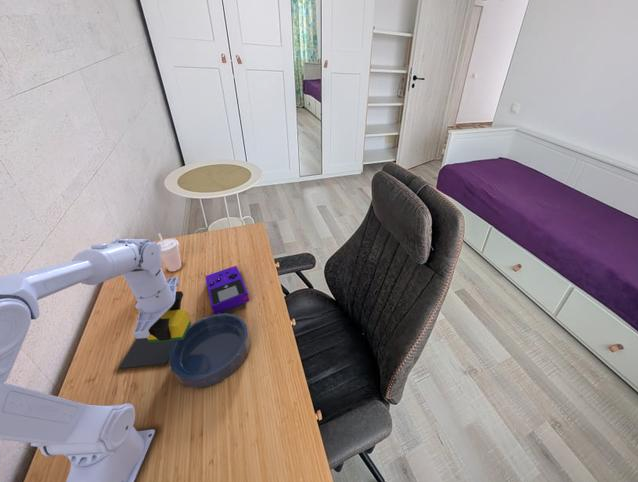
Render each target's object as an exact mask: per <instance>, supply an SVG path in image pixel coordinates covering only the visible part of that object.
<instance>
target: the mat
mask: <svg viewBox="0 0 638 482" xmlns="http://www.w3.org/2000/svg"><path fill="white" fill-rule="evenodd" d="M174 342H175V340H173V341H161V342H149V340H148V339H147V338H139V339H136V338H135V340H134V342H133V344H132V345H131V347H130V348H129V350H128V352H127V353H126V355H125V356H124V358H123V360H122V361H121V363H120V365H119V366H118V370H125V369H135V368H146V367H153V366H163V365H167V364H169V355H170V350H171V348H172V346H173V344H174Z"/></svg>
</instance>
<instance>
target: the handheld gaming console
mask: <svg viewBox="0 0 638 482" xmlns="http://www.w3.org/2000/svg"><path fill="white" fill-rule="evenodd" d="M204 277H205V283H206V287H207V291H208V296H209V301H210V308H211V310H212V312H213V315H214V314H223V313H228V314H230V313H232V312H235V311H237V310H239V309H241V308H244V304H246V303H249V301H250V298H249V293H248V291H247V289H246V285H245V283H244V280H243V277H242V275H241V273H240V270H239V268H238V265H234V266H231V267H228V268H224V269H221V270H219V271H216V272H213V273H210V274H207V275H205V276H204Z"/></svg>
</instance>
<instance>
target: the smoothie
mask: <svg viewBox="0 0 638 482" xmlns="http://www.w3.org/2000/svg"><path fill="white" fill-rule="evenodd" d="M157 235H158V237H159V239H160V240H159V241H158V242H156V243H157V244H158V245H159V244H160V246H161V260H162V263H163V264H164V266H165V267H166V269H167V270H168V271H169V272H176V271H178V270H181V268H182V260H181V255H180V249H179V245H180V243H179V241H178V240H177V239H176V238H165V239H164V238H163V236H162V234H161V233H160V232H158V234H157Z"/></svg>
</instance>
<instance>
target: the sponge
mask: <svg viewBox="0 0 638 482" xmlns="http://www.w3.org/2000/svg"><path fill="white" fill-rule="evenodd" d="M188 314H189V313H188V312H187V310H186V309H180V310H169V311H167V312H165V313H164V314H163V315H162V316H161V319H167V318H170V319H169V330H170V334H171V338H170V340H163V341H173V340H183V339H184V337H185V335H186V333H187V331H188V329H189V327H190V326H191V325H192V322H191V319H190V317H189V315H188ZM147 339H148V340H149V342H161V341H160V340H158V339H157V338H156V337H154V336H153V335H151V334H149V336H148V337H147Z"/></svg>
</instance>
